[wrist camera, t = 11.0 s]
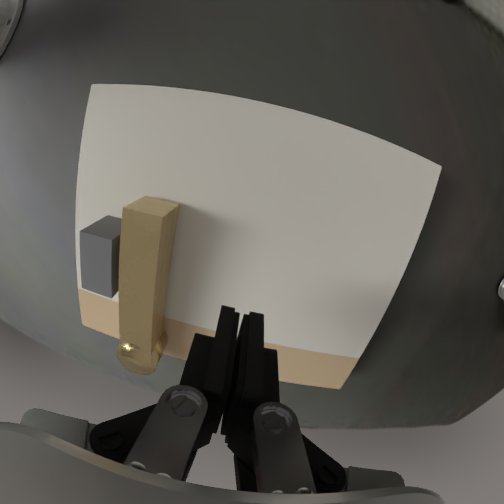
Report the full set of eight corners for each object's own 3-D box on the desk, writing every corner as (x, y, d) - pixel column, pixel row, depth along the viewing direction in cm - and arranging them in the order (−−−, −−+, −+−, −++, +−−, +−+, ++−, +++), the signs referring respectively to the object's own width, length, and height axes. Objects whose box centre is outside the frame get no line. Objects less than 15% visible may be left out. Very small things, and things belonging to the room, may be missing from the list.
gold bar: (166, 354, 22) (155, 380, 19) (131, 343, 22) (117, 366, 19) (186, 205, 17) (169, 218, 14) (139, 194, 17) (116, 205, 14)
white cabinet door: (97, 307, 25) (63, 347, 19) (113, 88, 17) (60, 78, 11) (335, 366, 25) (346, 418, 19) (421, 161, 18) (472, 174, 12)
